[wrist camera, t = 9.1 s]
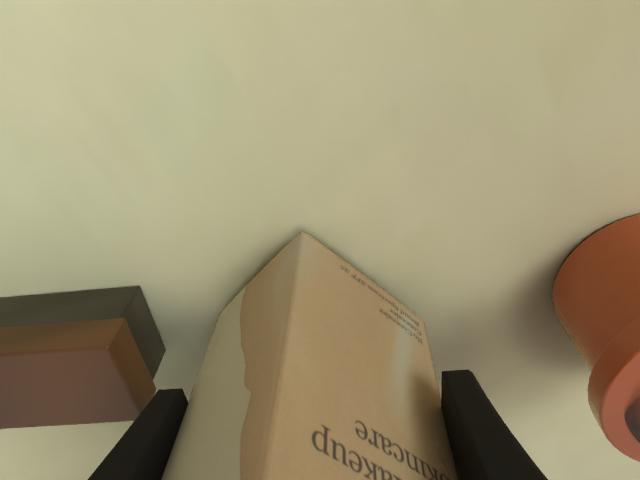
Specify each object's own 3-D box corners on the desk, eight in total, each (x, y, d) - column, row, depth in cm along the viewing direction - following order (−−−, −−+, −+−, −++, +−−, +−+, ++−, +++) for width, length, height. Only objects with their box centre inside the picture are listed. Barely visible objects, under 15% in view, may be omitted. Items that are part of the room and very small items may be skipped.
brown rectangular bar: (144, 282, 14) (107, 346, 12) (172, 351, 16) (144, 421, 14) (-102, 303, 15) (-183, 368, 13) (-53, 368, 17) (-117, 437, 14)
